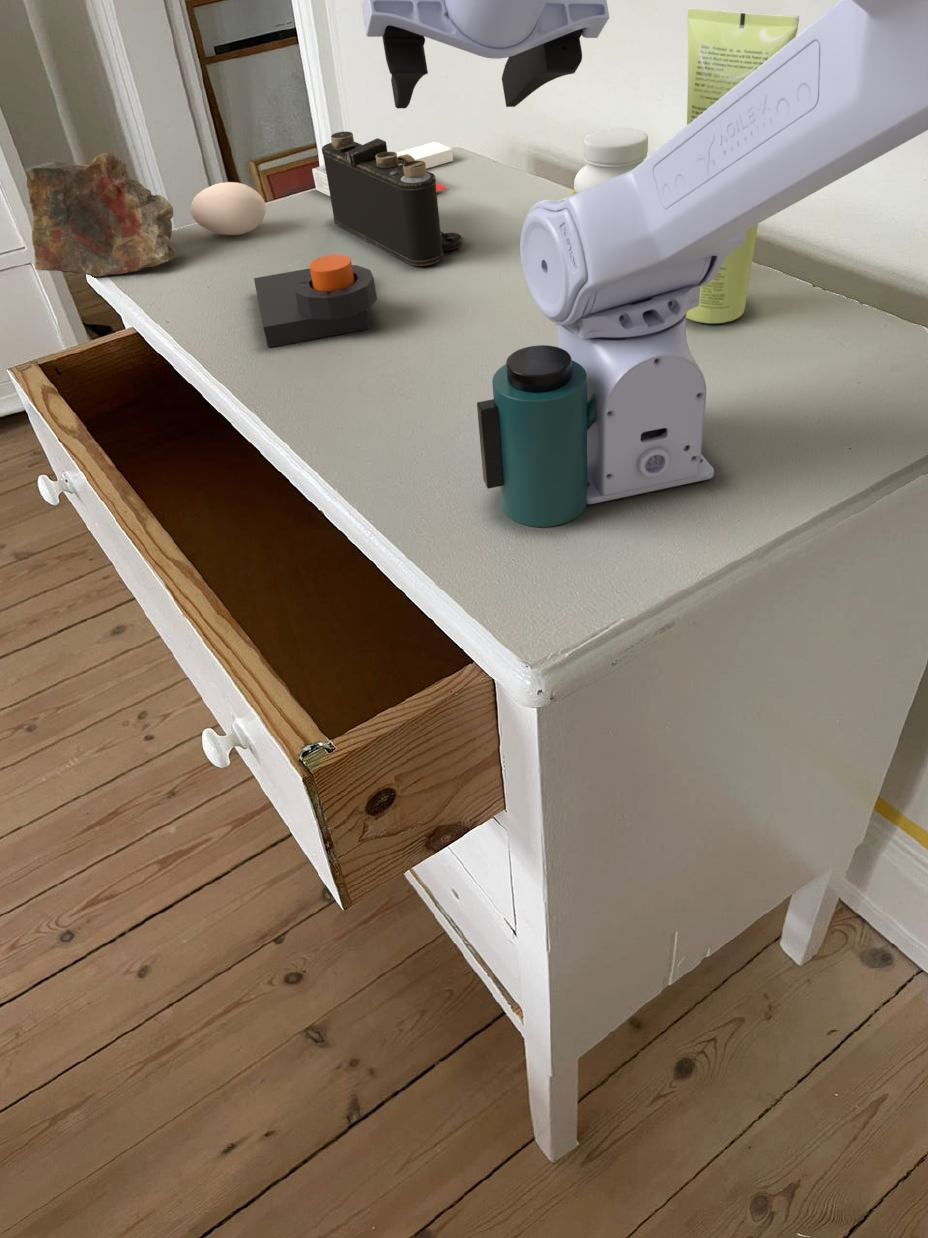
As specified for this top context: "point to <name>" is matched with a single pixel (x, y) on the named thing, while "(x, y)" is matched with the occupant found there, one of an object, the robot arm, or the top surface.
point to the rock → (97, 219)
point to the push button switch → (312, 306)
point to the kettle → (538, 436)
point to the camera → (386, 199)
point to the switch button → (331, 272)
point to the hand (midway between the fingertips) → (454, 92)
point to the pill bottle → (610, 155)
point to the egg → (228, 208)
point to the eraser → (430, 154)
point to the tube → (715, 66)
